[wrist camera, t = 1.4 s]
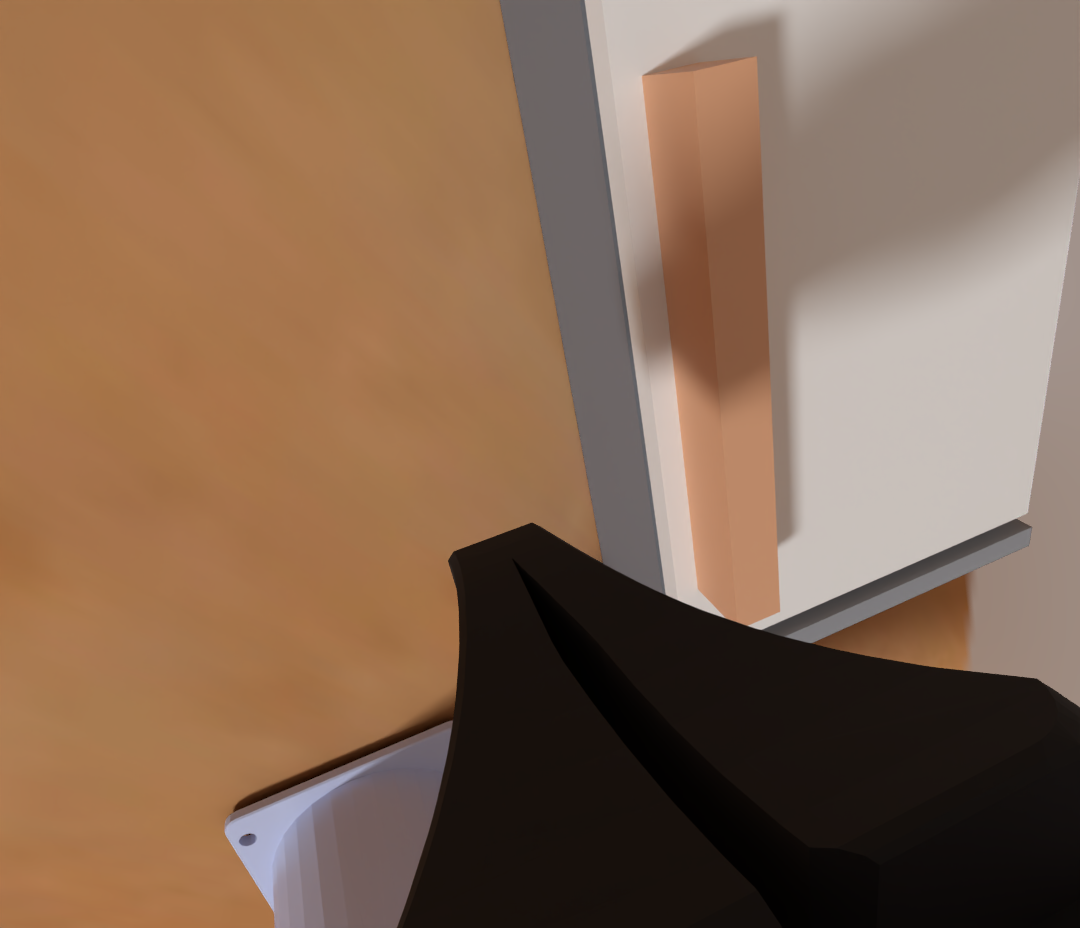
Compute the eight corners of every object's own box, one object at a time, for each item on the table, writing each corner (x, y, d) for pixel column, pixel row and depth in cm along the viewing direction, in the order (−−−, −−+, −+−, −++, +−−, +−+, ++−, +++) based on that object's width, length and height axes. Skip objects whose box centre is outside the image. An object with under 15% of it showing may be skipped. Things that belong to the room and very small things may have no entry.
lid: (1008, 503, 24) (1083, 542, 21) (672, 647, 21) (722, 708, 19) (1098, -159, 16) (1234, -202, 13) (576, -63, 13) (643, -97, 11)
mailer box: (894, 471, 28) (1029, 545, 23) (607, 587, 25) (692, 696, 21) (925, -156, 19) (1154, -246, 14) (484, -80, 16) (586, -159, 12)
